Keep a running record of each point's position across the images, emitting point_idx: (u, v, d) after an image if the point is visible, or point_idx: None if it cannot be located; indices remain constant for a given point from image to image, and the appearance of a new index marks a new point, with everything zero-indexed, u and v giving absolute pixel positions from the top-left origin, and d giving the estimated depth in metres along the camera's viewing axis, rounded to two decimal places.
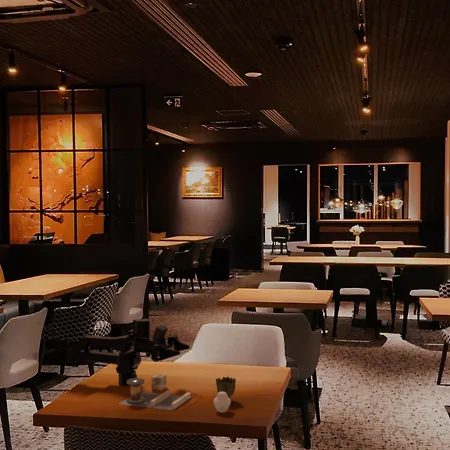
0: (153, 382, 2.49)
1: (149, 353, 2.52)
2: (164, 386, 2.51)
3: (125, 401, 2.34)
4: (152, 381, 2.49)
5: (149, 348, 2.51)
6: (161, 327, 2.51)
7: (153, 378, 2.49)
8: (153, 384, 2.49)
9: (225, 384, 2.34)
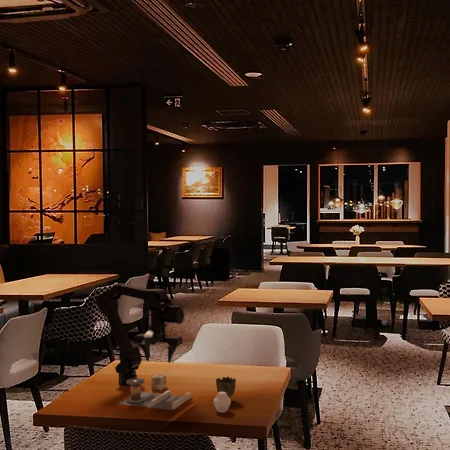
0: (153, 382, 2.49)
1: None
2: (164, 386, 2.51)
3: (125, 401, 2.34)
4: (152, 381, 2.49)
5: None
6: (148, 340, 2.43)
7: (153, 378, 2.49)
8: (153, 384, 2.49)
9: (225, 384, 2.34)
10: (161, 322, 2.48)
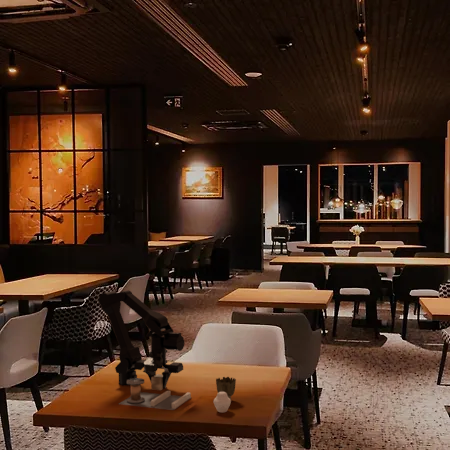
0: (153, 382, 2.49)
1: None
2: None
3: (125, 401, 2.34)
4: (152, 381, 2.49)
5: None
6: (148, 367, 2.43)
7: (153, 378, 2.49)
8: (153, 384, 2.49)
9: (225, 384, 2.34)
10: (161, 349, 2.48)
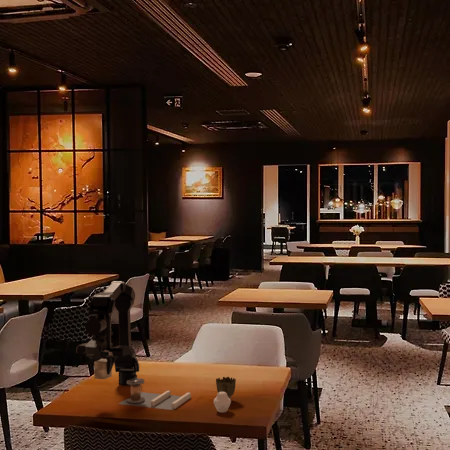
0: (96, 367, 2.27)
1: None
2: None
3: (125, 401, 2.34)
4: (95, 366, 2.27)
5: None
6: (89, 350, 2.21)
7: (96, 362, 2.27)
8: (96, 369, 2.27)
9: (225, 384, 2.34)
10: (106, 330, 2.26)
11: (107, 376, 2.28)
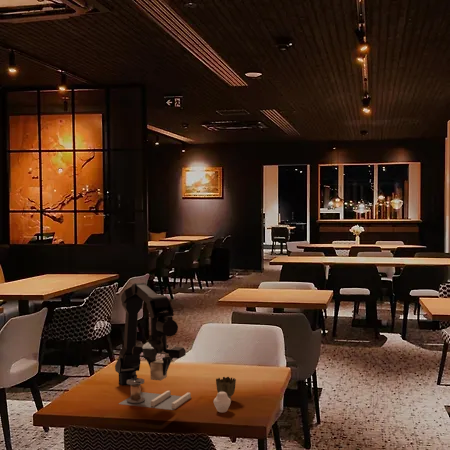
0: (152, 368, 2.28)
1: None
2: None
3: (125, 401, 2.34)
4: (151, 367, 2.28)
5: None
6: (147, 352, 2.22)
7: (152, 364, 2.28)
8: (152, 371, 2.28)
9: (225, 384, 2.34)
10: None
11: (163, 377, 2.29)
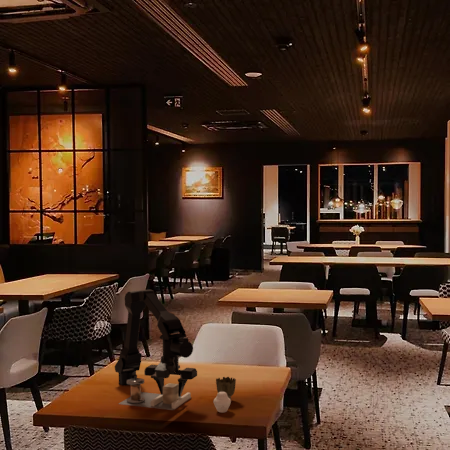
0: (165, 391, 2.31)
1: None
2: (176, 396, 2.33)
3: (125, 401, 2.34)
4: (164, 391, 2.31)
5: None
6: (160, 373, 2.25)
7: (165, 387, 2.31)
8: (164, 394, 2.31)
9: (225, 384, 2.34)
10: (174, 353, 2.30)
11: None
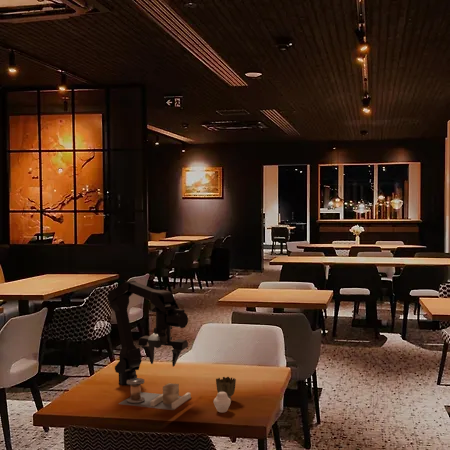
0: (165, 391, 2.31)
1: None
2: (176, 396, 2.33)
3: (125, 401, 2.34)
4: (164, 391, 2.31)
5: None
6: (152, 343, 2.38)
7: (165, 387, 2.31)
8: (164, 394, 2.31)
9: (225, 384, 2.34)
10: (166, 325, 2.43)
11: None
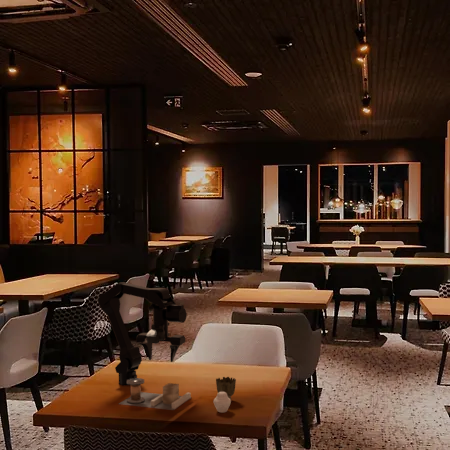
0: (165, 391, 2.31)
1: None
2: (176, 396, 2.33)
3: (125, 401, 2.34)
4: (164, 391, 2.31)
5: None
6: (150, 339, 2.43)
7: (165, 387, 2.31)
8: (164, 394, 2.31)
9: (225, 384, 2.34)
10: (163, 321, 2.48)
11: None
